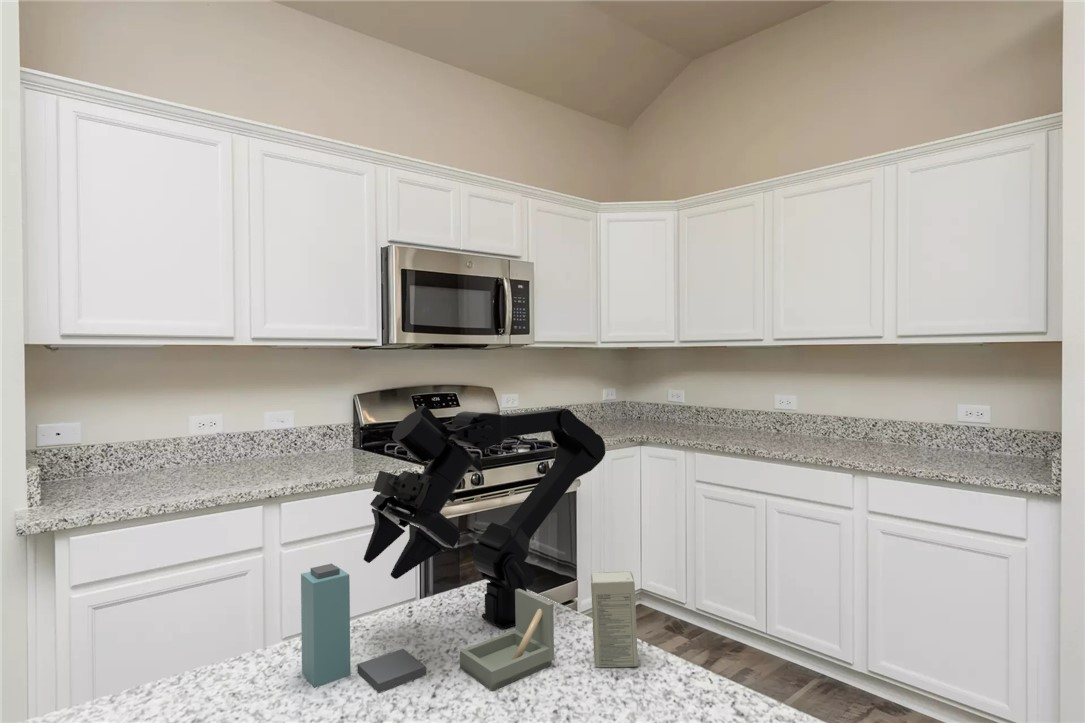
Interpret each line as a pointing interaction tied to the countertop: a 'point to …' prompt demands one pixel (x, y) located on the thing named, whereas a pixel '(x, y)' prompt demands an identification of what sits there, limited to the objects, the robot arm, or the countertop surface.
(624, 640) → the skincare box
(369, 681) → the foam pad
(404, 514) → the robot arm
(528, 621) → the case
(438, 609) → the countertop surface
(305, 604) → the module
